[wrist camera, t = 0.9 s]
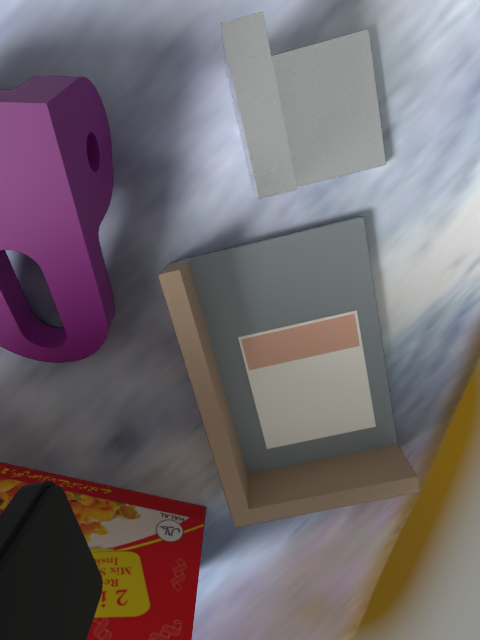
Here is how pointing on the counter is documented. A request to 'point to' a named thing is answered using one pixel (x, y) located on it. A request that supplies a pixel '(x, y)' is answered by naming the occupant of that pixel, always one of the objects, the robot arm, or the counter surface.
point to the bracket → (302, 107)
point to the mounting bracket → (55, 214)
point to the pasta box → (131, 554)
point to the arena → (290, 372)
